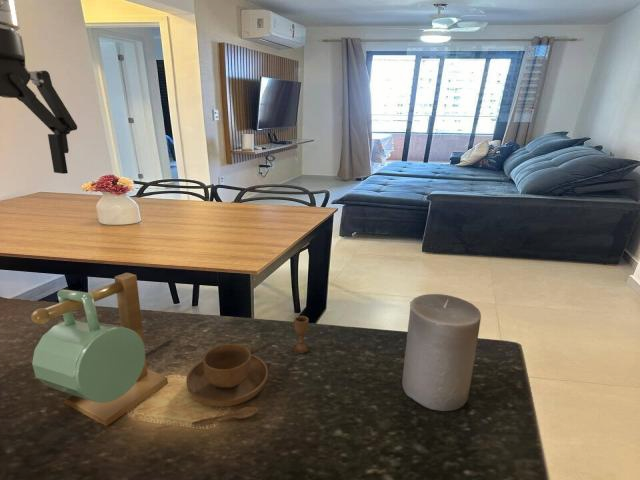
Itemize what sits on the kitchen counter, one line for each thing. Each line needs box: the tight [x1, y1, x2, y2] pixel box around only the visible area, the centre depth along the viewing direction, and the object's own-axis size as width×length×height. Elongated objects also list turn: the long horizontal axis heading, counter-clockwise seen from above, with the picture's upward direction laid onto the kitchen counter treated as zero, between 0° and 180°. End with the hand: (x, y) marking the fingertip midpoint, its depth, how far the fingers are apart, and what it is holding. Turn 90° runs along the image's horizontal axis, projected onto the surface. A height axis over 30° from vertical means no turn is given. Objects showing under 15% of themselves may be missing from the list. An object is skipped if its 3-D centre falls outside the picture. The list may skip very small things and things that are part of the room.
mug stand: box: [30, 272, 169, 427], centre depth 52 cm, size 12×14×17 cm
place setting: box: [185, 315, 310, 426], centre depth 58 cm, size 18×20×6 cm
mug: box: [31, 289, 146, 403], centre depth 47 cm, size 13×9×9 cm
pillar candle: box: [401, 293, 482, 412], centre depth 56 cm, size 10×10×15 cm
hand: (16, 176), depth 61 cm, fingers open, 13 cm apart
